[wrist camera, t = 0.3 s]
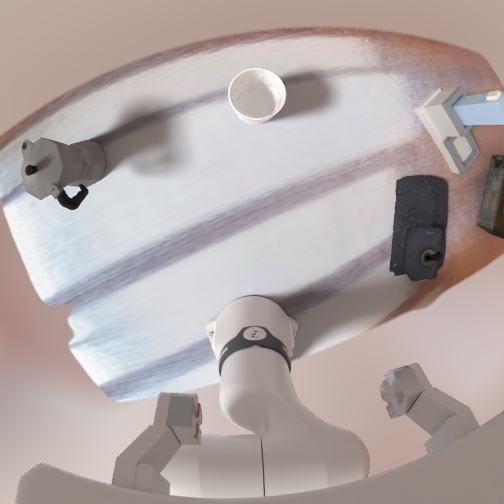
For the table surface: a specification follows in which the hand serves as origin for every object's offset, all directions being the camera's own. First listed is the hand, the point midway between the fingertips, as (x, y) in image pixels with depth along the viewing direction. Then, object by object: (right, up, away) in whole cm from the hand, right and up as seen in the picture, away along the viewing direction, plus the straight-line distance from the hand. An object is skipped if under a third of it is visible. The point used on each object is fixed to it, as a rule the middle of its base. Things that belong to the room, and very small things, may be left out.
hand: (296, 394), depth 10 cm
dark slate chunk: (+34, +11, +41) cm, 54 cm away
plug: (+36, +31, +25) cm, 54 cm away
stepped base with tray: (+39, +31, +34) cm, 60 cm away
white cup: (-1, +31, +33) cm, 45 cm away
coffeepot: (-32, +22, +35) cm, 52 cm away
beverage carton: (+58, +20, +39) cm, 73 cm away
